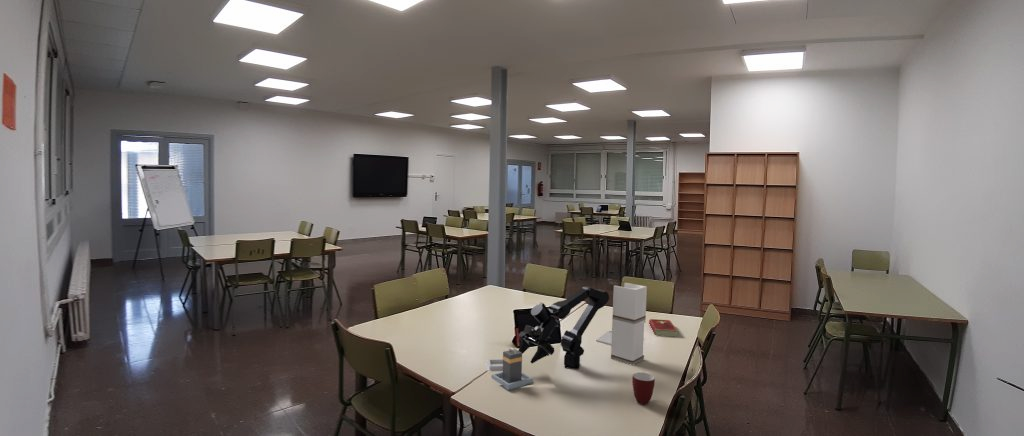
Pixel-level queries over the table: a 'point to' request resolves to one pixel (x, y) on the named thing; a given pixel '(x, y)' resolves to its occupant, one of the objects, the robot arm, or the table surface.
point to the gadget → (606, 338)
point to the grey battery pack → (512, 365)
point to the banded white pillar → (628, 323)
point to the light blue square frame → (515, 384)
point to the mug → (643, 387)
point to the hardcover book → (663, 327)
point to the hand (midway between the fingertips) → (524, 359)
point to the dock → (494, 364)
